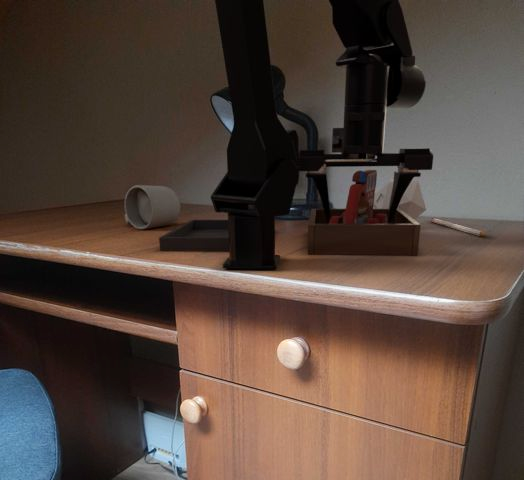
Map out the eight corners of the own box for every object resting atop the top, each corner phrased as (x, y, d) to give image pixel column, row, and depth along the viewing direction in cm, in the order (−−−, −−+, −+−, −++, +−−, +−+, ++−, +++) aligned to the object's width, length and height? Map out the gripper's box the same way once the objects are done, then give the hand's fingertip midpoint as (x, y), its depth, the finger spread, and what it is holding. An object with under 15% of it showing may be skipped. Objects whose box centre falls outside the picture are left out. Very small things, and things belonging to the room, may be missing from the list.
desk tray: (250, 251, 70) (250, 237, 69) (159, 250, 71) (158, 237, 70) (265, 230, 87) (265, 219, 87) (192, 230, 89) (191, 219, 88)
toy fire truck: (322, 248, 71) (324, 171, 67) (346, 235, 82) (350, 168, 78) (370, 251, 68) (375, 171, 64) (389, 237, 79) (394, 168, 75)
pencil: (434, 221, 94) (435, 218, 94) (489, 237, 77) (490, 233, 77) (430, 222, 94) (431, 218, 94) (484, 238, 77) (485, 233, 77)
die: (376, 225, 96) (358, 184, 89) (419, 201, 94) (404, 157, 87) (391, 248, 89) (374, 206, 83) (438, 223, 87) (423, 177, 81)
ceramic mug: (185, 225, 95) (182, 183, 92) (154, 230, 88) (149, 185, 85) (146, 222, 100) (142, 182, 97) (114, 227, 94) (109, 185, 91)
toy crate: (417, 255, 66) (420, 224, 64) (307, 254, 67) (308, 224, 66) (398, 233, 83) (400, 208, 81) (310, 232, 84) (311, 208, 83)
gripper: (424, 108, 74) (413, 215, 80) (300, 111, 76) (298, 215, 82) (440, 102, 64) (426, 225, 70) (296, 105, 66) (295, 224, 72)
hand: (358, 221), depth 74 cm, fingers open, 9 cm apart
